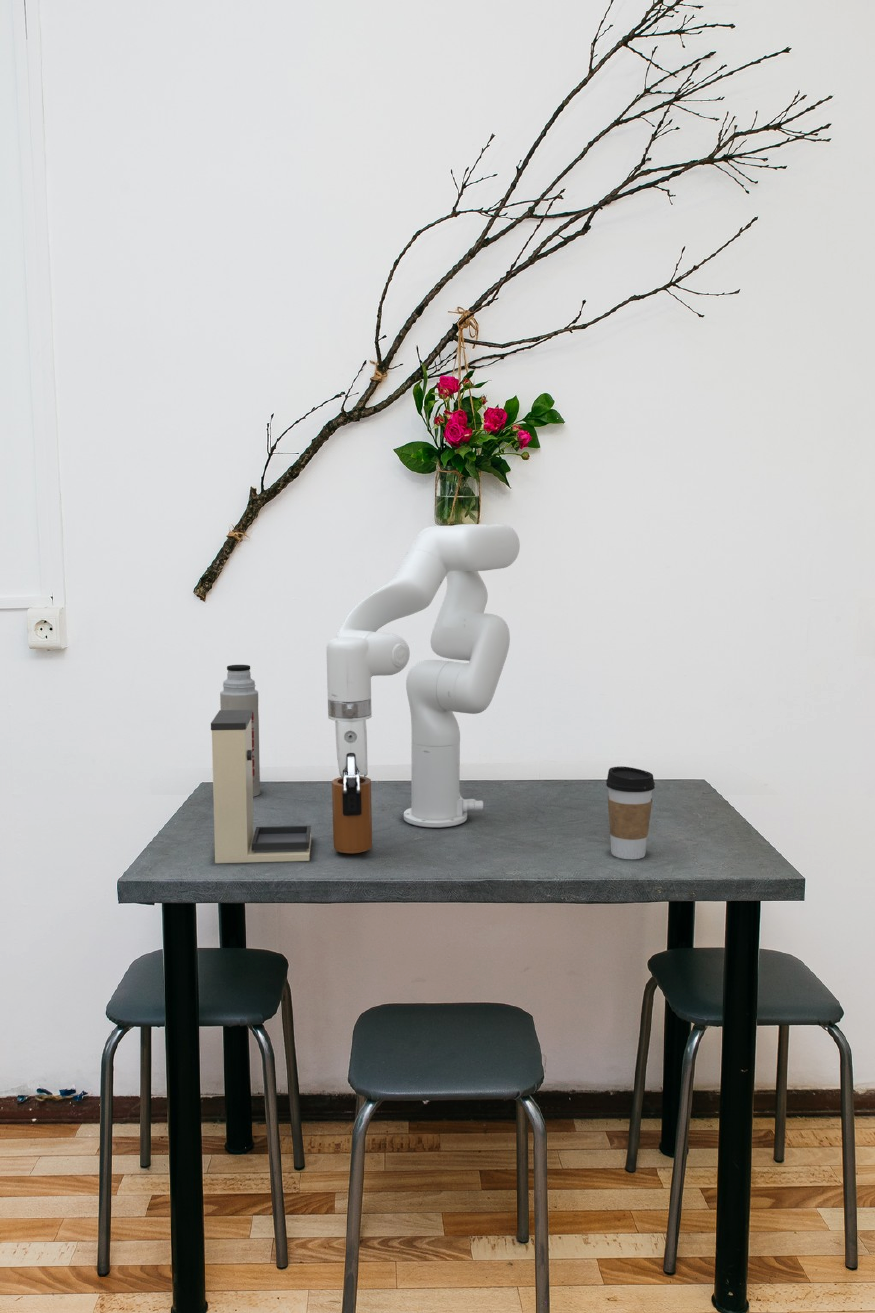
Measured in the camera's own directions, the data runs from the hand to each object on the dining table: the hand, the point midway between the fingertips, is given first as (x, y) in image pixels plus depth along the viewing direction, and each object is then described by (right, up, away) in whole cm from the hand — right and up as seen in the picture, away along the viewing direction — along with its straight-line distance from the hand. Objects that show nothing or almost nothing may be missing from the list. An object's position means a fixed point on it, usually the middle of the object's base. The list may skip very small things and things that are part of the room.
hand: (352, 807), depth 174 cm
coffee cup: (+49, -9, +1) cm, 49 cm away
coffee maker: (-16, -8, +2) cm, 18 cm away
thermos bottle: (-27, -3, +40) cm, 48 cm away
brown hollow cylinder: (0, -7, +1) cm, 7 cm away
